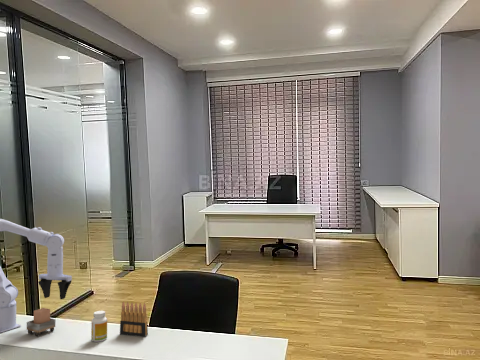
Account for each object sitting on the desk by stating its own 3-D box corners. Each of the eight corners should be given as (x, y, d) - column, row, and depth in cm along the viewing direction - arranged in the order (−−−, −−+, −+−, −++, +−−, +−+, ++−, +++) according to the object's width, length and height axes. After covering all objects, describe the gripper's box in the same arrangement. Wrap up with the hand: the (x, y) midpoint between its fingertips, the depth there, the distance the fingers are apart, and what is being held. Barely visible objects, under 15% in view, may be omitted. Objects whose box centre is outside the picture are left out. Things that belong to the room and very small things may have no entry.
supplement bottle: (110, 337, 138) (110, 311, 139) (99, 343, 134) (99, 315, 134) (99, 335, 141) (99, 309, 141) (88, 340, 136) (88, 313, 136)
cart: (26, 333, 143) (26, 322, 143) (43, 327, 149) (43, 316, 149) (38, 336, 139) (38, 325, 139) (55, 330, 145) (55, 319, 146)
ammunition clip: (147, 335, 141) (148, 302, 141) (145, 337, 139) (145, 304, 140) (122, 332, 144) (122, 300, 144) (119, 334, 142) (119, 302, 142)
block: (33, 326, 143) (33, 310, 144) (43, 323, 147) (43, 307, 147) (40, 328, 142) (40, 312, 142) (50, 325, 145) (50, 309, 145)
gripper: (32, 265, 152) (32, 299, 152) (63, 267, 148) (62, 302, 148) (46, 262, 159) (45, 294, 159) (75, 263, 155) (75, 297, 155)
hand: (54, 298), depth 154 cm, fingers open, 7 cm apart
